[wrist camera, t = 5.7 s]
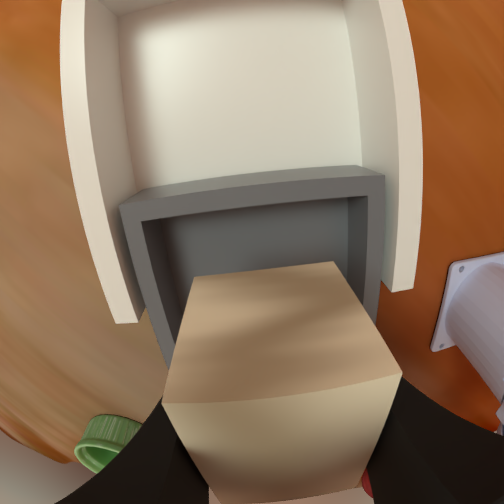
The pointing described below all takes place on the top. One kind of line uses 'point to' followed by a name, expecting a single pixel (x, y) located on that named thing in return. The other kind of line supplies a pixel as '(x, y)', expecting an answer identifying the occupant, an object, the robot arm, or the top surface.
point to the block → (279, 383)
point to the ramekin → (104, 440)
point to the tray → (254, 233)
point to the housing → (236, 108)
